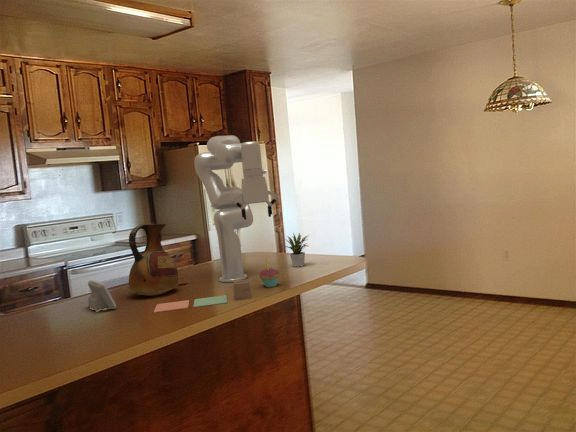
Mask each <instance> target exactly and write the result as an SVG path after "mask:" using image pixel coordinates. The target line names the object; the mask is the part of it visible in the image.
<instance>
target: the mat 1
mask: <svg viewBox="0 0 576 432" xmlns="http://www.w3.org/2000/svg"><path fill="white" fill-rule="evenodd" d="M189 304H190V299H188V300H187V299H185V300H180V301H171V302H164V303H157V304H156V306H155V308H154V310H153V314H155V313H161V312H162V313H163V312H168V311H170V312H171V311H177V310H178V311H179V310H185V309H189Z"/></svg>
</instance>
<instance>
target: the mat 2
mask: <svg viewBox="0 0 576 432" xmlns="http://www.w3.org/2000/svg"><path fill="white" fill-rule="evenodd" d="M227 303H228V298H227V295H226V294H225V295H217V296H211V297H203V298H196V299H194V301H193V308H199V307H200V308H201V307H207V306H209V307H210V306H216V305H222V304H227Z"/></svg>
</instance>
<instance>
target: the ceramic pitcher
mask: <svg viewBox="0 0 576 432" xmlns="http://www.w3.org/2000/svg"><path fill="white" fill-rule="evenodd" d="M166 226H167V223H156V224H155V223H139V224H138V225H137V226H135V227H134V228H133V229H131V231H130V232H129V236H128V245H129V248H130V250H131V253H132V255H133V258H134V262H133V264H132V265H131V268H130V271H129V275H128V287H129V291H130V292H132V293H135V294H136V295H139V296H159V295H163V294H165V293H167V292H168V291H169V292H170V291H171V290H173V289H175V288H177V287H178V285H179V272H178V268H177V265H176V263H175V261H174V259H173V258H172V256H170V254H169V253H167V252H166V251H165V250H164V247H163V245H162V239H163V237H162V231H163V229H164V228H165V227H166ZM139 230H143V231H144V232H145V236H146V245H145V248H144V251H143V252H140V251H139V249H138V247H137V242H136V238H137V233H138V231H139Z"/></svg>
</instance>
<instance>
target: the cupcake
mask: <svg viewBox="0 0 576 432" xmlns="http://www.w3.org/2000/svg"><path fill="white" fill-rule="evenodd" d="M265 263H266V268H264V269H262V270H261V271H260V272H259V274H258V278H259V279H260V280H261V281H262V283H263V285H264V287H265V288H273V287H276V286H277V284H278V280H279V278H280V276H281V273H280V271H279V270H278V269H275V268H272V267H269V262H268V259H267V257H265Z"/></svg>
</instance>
